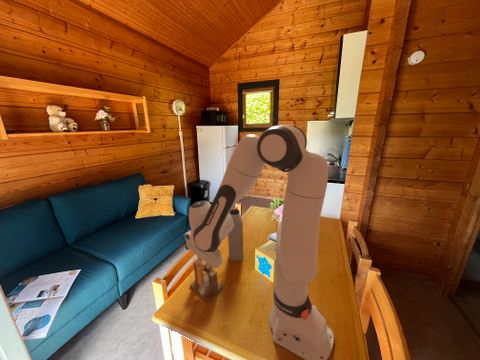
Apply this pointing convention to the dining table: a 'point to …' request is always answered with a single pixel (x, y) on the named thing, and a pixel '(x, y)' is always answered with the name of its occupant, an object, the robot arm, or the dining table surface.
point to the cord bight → (201, 272)
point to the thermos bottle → (236, 237)
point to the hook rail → (206, 283)
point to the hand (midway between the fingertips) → (204, 265)
